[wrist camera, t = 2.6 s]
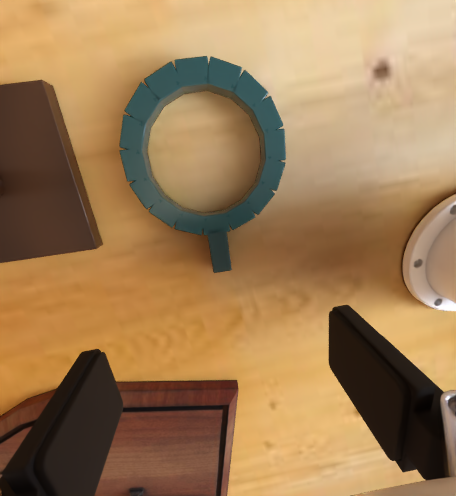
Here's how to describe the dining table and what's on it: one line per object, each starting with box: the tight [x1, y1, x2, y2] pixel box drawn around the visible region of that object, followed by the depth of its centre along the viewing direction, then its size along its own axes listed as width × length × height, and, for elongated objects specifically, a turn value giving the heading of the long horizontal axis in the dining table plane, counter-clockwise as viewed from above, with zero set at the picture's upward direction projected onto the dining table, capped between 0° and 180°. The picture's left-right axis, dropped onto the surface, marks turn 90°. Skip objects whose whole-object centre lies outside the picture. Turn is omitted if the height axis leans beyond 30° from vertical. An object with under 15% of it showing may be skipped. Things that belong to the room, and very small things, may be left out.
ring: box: [119, 56, 286, 273], centre depth 19 cm, size 12×16×2 cm
